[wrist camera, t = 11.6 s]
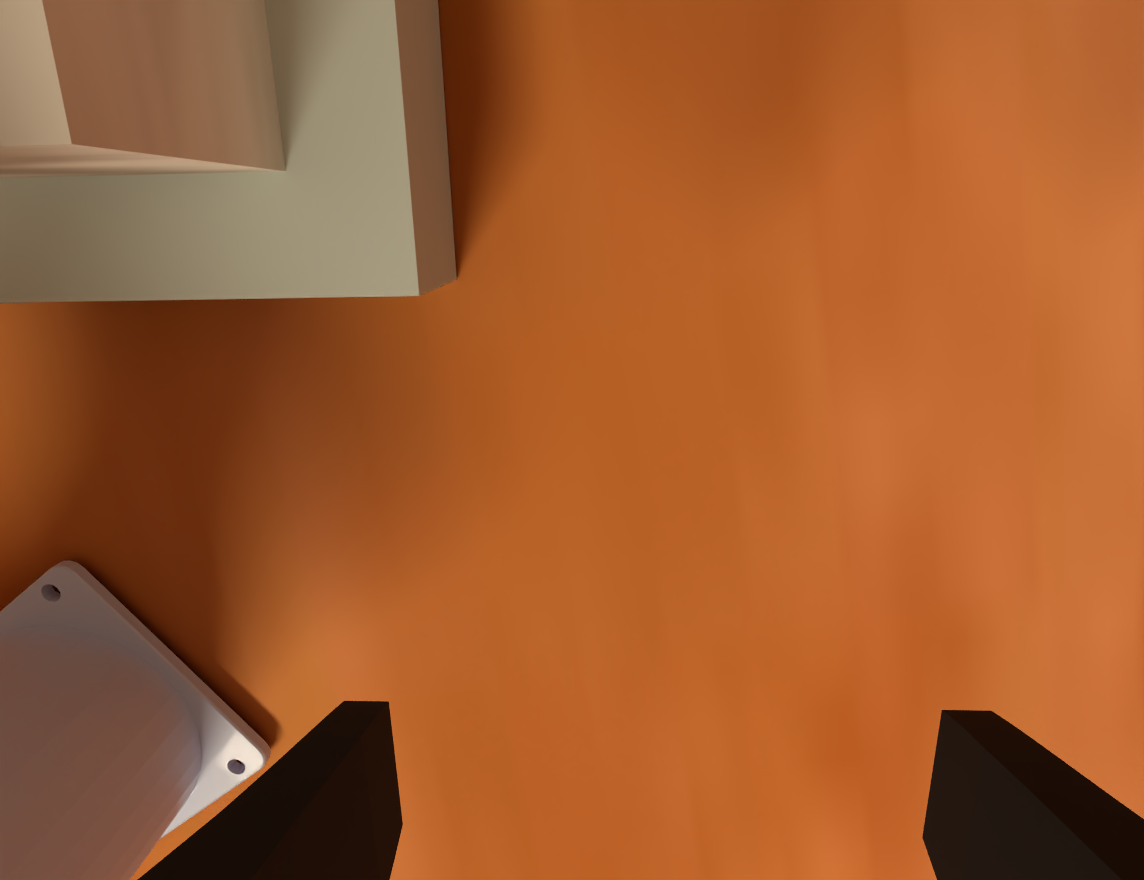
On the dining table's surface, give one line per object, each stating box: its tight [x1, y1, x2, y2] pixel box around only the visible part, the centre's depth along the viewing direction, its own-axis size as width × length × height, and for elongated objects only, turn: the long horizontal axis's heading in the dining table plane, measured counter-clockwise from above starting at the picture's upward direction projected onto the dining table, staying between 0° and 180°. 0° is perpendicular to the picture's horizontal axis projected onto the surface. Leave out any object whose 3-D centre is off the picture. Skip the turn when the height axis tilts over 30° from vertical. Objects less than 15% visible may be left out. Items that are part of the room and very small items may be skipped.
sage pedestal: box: [0, 0, 457, 303], centre depth 14 cm, size 10×10×4 cm
